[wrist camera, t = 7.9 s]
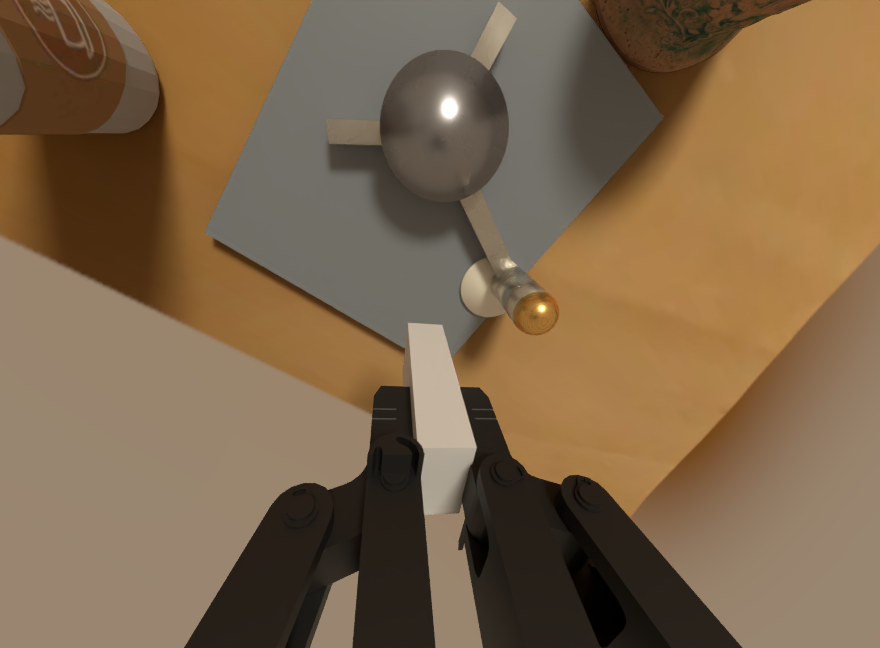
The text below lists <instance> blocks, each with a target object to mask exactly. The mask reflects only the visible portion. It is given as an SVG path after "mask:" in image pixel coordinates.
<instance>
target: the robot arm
mask: <svg viewBox="0 0 880 648" xmlns="http://www.w3.org/2000/svg"><path fill="white" fill-rule="evenodd" d="M461 504H463V508H464V513H465V521H464V524H463V528H462V531H461V535H460V538H459V548H458V549H459V550H462V549H463V546H464V543H465V549H466V554H467V560H468V565H469V571H470V577H471V583H472V587H473V594H474V599H475V605H476V610H477V616H478V622H479V628H480V633H481V639H482V644H483V648H742V647H741V646H740V645H739V643H738V642H737V641H736V640H735V639H734V638H733V636H732V635H731V634H730V633H729V632H728V631H727V630H726V628H725V627H724V626H723V625H722V624H721V623H720V621H719V620H718V619H717V618H716V617H715V616H714V615H713V613H712V612H711V611H710V610H709V609H708V608H707V606H706V605H705V604H704V603H703V602H702V601H701V600H700V598H699V597H698V596H697V595H696V594H695V593H694V591H693V590H692V589H691V588H690V587H689V586H688V585H687V583H686V582H685V581H684V580H683V579H682V578H681V577H680V575H679V574H678V573H677V572H676V571H675V570H674V568H672V566H671V565H670V564H669V563H668V561H667V560H666V559H665V558H664V557H663V556H662V555H661V553H660V552H659V551H658V550H657V549H656V548H655V547H654V545H653V544H652V543H651V542H650V541H649V540H648V538H647V537H646V536H645V535H644V534H643V533H642V531H641V530H640V529H639V528H638V527H637V526H636V525H635V523H634V522H633V521H632V520H631V519H630V518H629V516H628V515H627V514H626V513H625V512H624V511H623V510H622V508H621V507H620V506H619V505H618V504H617V503H616V502H615V500H614V499H613V498H612V497H611V496H610V495H609V493H608V492H607V491H606V490H605V489H604V488H602V487H601V486H600V485H599V484H598V483H596V482H595V481H593V480H591V479H589V478H587V477H584V476H580V475H570V476H568V477H567V478H565V479H564V480H563V482H562V484H561V485H560V484H557V483H553V482H550V481H546V480H543V479H539V478H536V477H534V476H531V475H530V474H528V473H527V471H526V470H525V468H524V467H523V466H522V465H521V464H520V463H519V462H518V461H517V460H515V459H513V458H512V456H511V455H510V452H509V449H508V447H507V444H506V442H505V439H504V436H503V434H502V431H501V429H500V426H499V424H498V421H497V420H496V416H495V413H494V411H493V408H492V405H491V403H490V400H489V398H488V396H487V395H486V394H485V393H484V392H483V391H482V390H481V389H480V388H474V387H460V386H459V383H458V379H457V376H456V372H455V368H454V365H453V361H452V358H451V354H450V351H449V347H448V343H447V340H446V336H445V333H444V329H443V326H442V325H437V324H421V323H408V326H407V336H406V346H405V356H404V365H403V387H401V386H381V387H380V388H379V390H378V391H377V392H376V394H375V395H374V403H373V415H372V427H371V439H370V449H369V452H368V457H367V466H366V467H365V469H364V471H363V472H362V473H361V474H360V475H359V476H358V477H357V478H355V479H354V480H353V481H351V482H349V483H347V484H344V485H342V486H339V487H336V488H333V489H330V490H327V489H326V488H325V487H323V486H321V485H318V484H316V483H303V484H300V485H297V486H294V487H291V488H290V489H288V490H286V491H285V492H283V493H282V494H281V495H280V496H279V497H278V498H277V499H276V500H275V501H274V503H273V504H272V505H271V507H270V508H269V510H268V512H267V513H266V515H265V517H264V518H263V520H262V521H261V523H260V525H259V526H258V528H257V530H256V531H255V533H254V534H253V536H252V538H251V540H250V541H249V543H248V544H247V546H246V547H245V549H244V551H243V552H242V554H241V556H240V557H239V559H238V561H237V562H236V564H235V565H234V567H233V569H232V570H231V572H230V574H229V576H228V577H227V579H226V580H225V582H224V583H223V585H222V587H221V588H220V590H219V592H218V593H217V595H216V597H215V598H214V600H213V602H212V603H211V605H210V606H209V608H208V610H207V611H206V613H205V614H204V616H203V618H202V619H201V621H200V623H199V625H198V626H197V628H196V629H195V631H194V632H193V634H192V636H191V637H190V639H189V641H188V642H187V644H186V646H185V647H184V648H310V645H311V643H312V640H313V637H314V634H315V631H316V629H317V626H318V623H319V620H320V617H321V614H322V611H323V609H324V606H325V602H326V600H327V597H328V594H329V591H330V588H331V586H332V583H334V582H336V581H338V580H340V579H342V578H344V577H346V576H348V575H351V574H353V573H355V572H357V571H359V575H358V588H357V599H356V611H355V623H354V636H353V648H435V638H434V626H433V614H432V602H431V590H430V579H429V566H428V555H427V543H426V531H425V519H424V515H429V514H450V513H459V512H460V508H461Z"/></svg>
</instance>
